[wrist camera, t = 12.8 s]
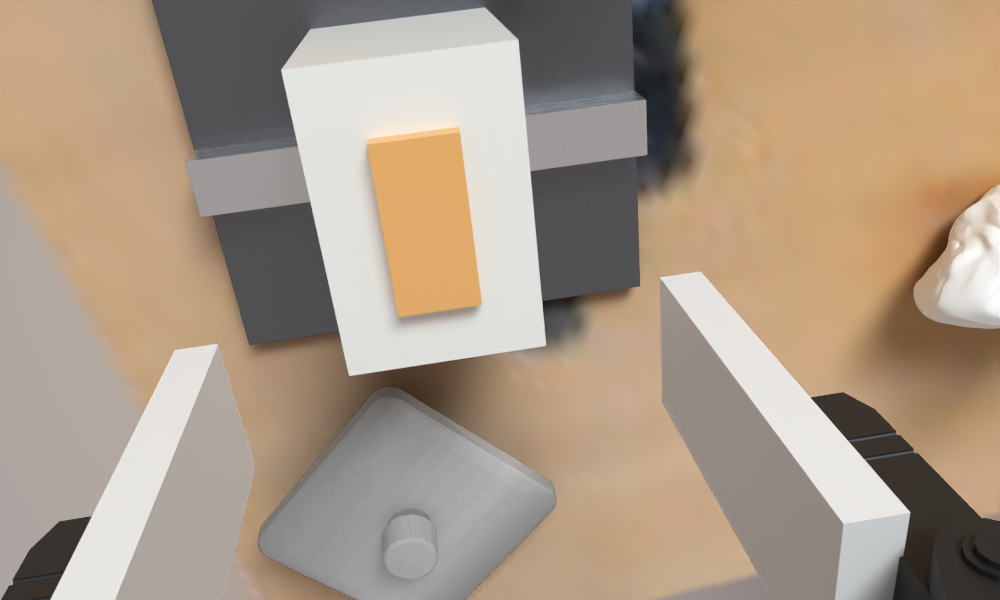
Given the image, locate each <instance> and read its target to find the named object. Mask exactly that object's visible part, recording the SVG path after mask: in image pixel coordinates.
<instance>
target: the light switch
mask: <svg viewBox="0 0 1000 600" xmlns="http://www.w3.org/2000/svg"><path fill="white" fill-rule="evenodd" d="M556 500H557V498H556V494H555V490H554V487H553V484H552V481H550V480H548V479H547V478H545V477H544V476H542V475H540V474H539V473H537V472H535V471H534V470H532V469H530V468H529V467H527V466H526V465H524V464H522V463H521V462H519V461H518V460H516V459H514V458H513V457H511V456H510V455H508V454H506V453H505V452H503V451H501V450H500V449H498V448H496V447H495V446H493V445H491V444H490V443H488V442H487V441H485V440H483V439H482V438H480V437H478V436H477V435H475V434H473V433H472V432H470V431H468V430H467V429H465V428H464V427H462V426H460V425H459V424H457V423H455V422H454V421H452V420H450V419H449V418H447V417H445V416H444V415H442V414H440V413H439V412H437V411H435V410H434V409H432V408H430V407H429V406H427V405H425V404H424V403H422V402H420V401H419V400H417V399H416V398H414V397H412V396H411V395H409V394H407V393H406V392H404V391H403V390H401V389H399V388H395V387H389V386H388V387H384V388H381V389H378V390H375V391H374V392H373V394H372V395H371V396H370V397H369V398H368V400H367V401H366V402H365V403H364V404H363V406H362V407H361V408H360V409H359V410H358V411H357V413H356V414H355V415H354V416H353V417H352V419H351V420H350V421H349V422H348V423H347V424H346V426H345V427H344V428H343V429H342V430H341V432H340V433H339V434H338V435H337V436H336V438H335V439H334V440H333V441H332V442H331V443H330V445H329V446H328V447H327V448H326V449H325V451H324V452H323V453H322V454H321V455H320V456H319V458H318V459H317V460H316V461H315V462H314V464H313V465H312V466H311V467H310V468H309V470H308V471H307V472H306V473H305V474H304V475H303V477H302V478H301V479H300V480H299V481H298V483H297V484H296V485H295V486H294V487H293V488H292V490H291V491H290V492H289V493H288V494H287V496H286V497H285V498H284V499H283V500H282V502H281V503H280V504H279V505H278V506H277V507H276V509H275V510H274V511H273V512H272V513H271V515H270V516H269V517H268V518H267V519H266V520H265V522H264V523H263V524H262V525H261V528H260V532H259V538H258V547H259V549H260V551H261V552H262V553H263V554H264V555H265V556H267V557H269V558H271V559H273V560H275V561H277V562H279V563H281V564H283V565H285V566H287V567H289V568H291V569H293V570H295V571H297V572H299V573H301V574H303V575H305V576H307V577H310V578H312V579H314V580H316V581H318V582H320V583H322V584H324V585H326V586H328V587H330V588H333V589H335V590H337V591H339V592H341V593H343V594H345V595H347V596H349V597H351V598H353V599H356V600H465V599H466V598H467V597H468V596H469V595H470V594H471V593H472V592H473V591H474V590H475V589H476V588H477V587H478V586H479V585H480V584H481V583H482V582H483V581H484V579H485V578H486V577H487V576H488V575H489V574H490V573H491V572H492V571H493V570H494V569H495V568H496V567H497V566H498V565H499V564H500V563H501V562H502V561H503V560H504V559H505V558H506V557H507V556H508V555H509V554H510V553H511V552H512V551H513V550H514V549H515V548H516V547H517V546H518V545H519V544H520V543H521V542H522V541H523V540H524V539H525V538H526V537H527V536H528V535H529V534H530V533H531V532H532V531H533V530H534V529H535V528H536V527H537V526H538V525H539V524H540V523H541V522H542V521H543V520H544V519H545V518H546V516H547V515H548V514H549V513H550V512H551V511H552V510H553V509H554V507H555V505H556Z"/></svg>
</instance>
